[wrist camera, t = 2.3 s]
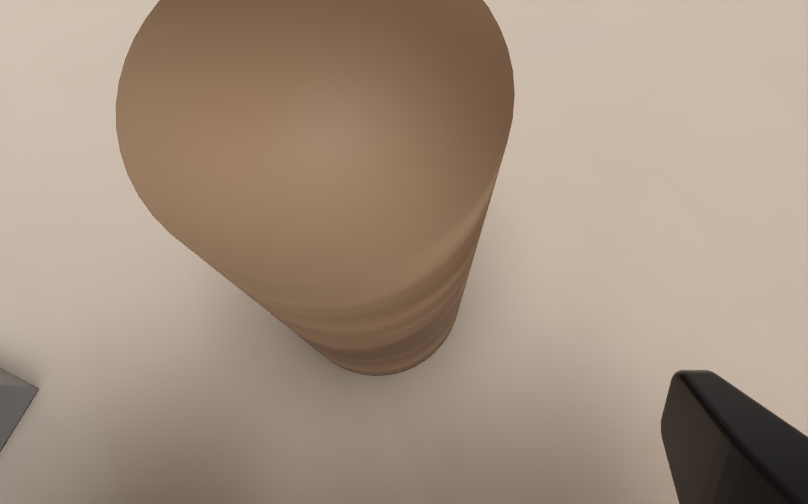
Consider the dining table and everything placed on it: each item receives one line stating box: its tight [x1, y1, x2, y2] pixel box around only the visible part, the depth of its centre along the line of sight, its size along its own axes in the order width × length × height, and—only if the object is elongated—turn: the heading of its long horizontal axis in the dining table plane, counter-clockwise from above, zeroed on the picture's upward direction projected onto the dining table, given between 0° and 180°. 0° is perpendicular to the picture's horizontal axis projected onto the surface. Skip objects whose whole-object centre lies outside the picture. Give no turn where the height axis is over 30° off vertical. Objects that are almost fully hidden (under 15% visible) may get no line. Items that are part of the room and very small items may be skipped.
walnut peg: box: [116, 0, 514, 375], centre depth 14 cm, size 5×5×12 cm
